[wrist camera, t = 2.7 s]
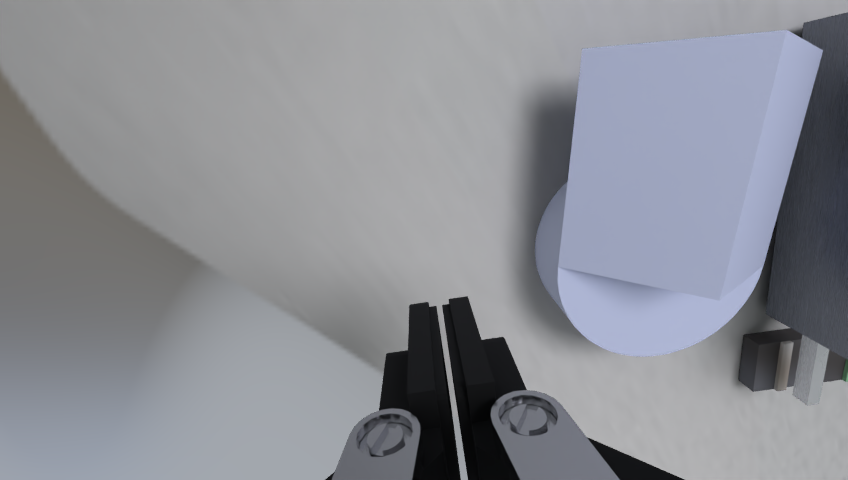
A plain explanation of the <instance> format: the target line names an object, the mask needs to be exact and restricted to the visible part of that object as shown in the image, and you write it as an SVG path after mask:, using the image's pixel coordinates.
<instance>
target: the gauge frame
mask: <svg viewBox="0 0 848 480" xmlns="http://www.w3.org/2000/svg"><path fill="white" fill-rule="evenodd" d="M801 340H802V334H801V333H799V332H797V331H795V330H793V329H792V328H791V329H784V330H777V331H770V332H762V333H755V334H748V335H744V339H743V348H742V357H741V365H740V374H739V381H740V382H742V383H743V384H744V385H745V386H747V387H748V388H749V389H750V390H752V391H753V392H754V391H761V390H769V389H775V390H776V391H782V390H786V388H787V387H791V386H794V382H795V376H796V370H797V364H798V358H799V352H800V346H801ZM834 380H844V381H845V382H848V360H847V359H845V358H844V357H842V356H840V355H838V354H837V353H835V352H833V351H831V350H829V354H828V359H827V364H826V370H825V375H824V380H823V382H827V381H834Z"/></svg>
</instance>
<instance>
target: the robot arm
mask: <svg viewBox="0 0 848 480" xmlns="http://www.w3.org/2000/svg"><path fill="white" fill-rule="evenodd" d="M442 307H443V314H444V321H445V328H446V335H447V342H448V349H449V356H450V362H451V369H452V376H453V383H454V390H455V397H456V403H457V410H458V416H459V423H460V429H461V436H462V442H463V449H464V456H465V462H466V469H467V475H468V480H684V479H682V478H679V477H677V476H675V475H673V474H670V473H668V472H666V471H663V470H661V469H659V468H656V467H654V466H652V465H650V464H647V463H645V462H643V461H640V460H638V459H636V458H633V457H631V456H629V455H627V454H624V453H622V452H620V451H617V450H615V449H613V448H610V447H608V446H606V445H604V444H601V443H599V442H597V441H594V440H592V439H590V438H587V437H586V436H585V434H584V433H583V432H582V431H581V429H580V428H579V427H578V426H577V424H576V423H575V422H574V420H573V419H572V418H571V417H570V415H569V414H568V413H567V411H566V410H565V409H564V408H563V406H562V405H561V404H560V403H559V402H558V401H557V400H556V399H554V398H552V397H551V396H549V395H547V394H545V393H541V392H537V391H530V390H526V387H525V385H524V383H523V380H522V378H521V376H520V373H519V371H518V369H517V366H516V364H515V362H514V359H513V357H512V355H511V352H510V350H509V348H508V345H507V343H506V341H505V339H504V337H499V338H492V339H485V340H481V337H480V334H479V331H478V328H477V325H476V322H475V318H474V315H473V312H472V309H471V306H470V303H469V300H468V297H460V298H453V299H449V304H447V305H442ZM326 480H461V479H460V471H459V464H458V456H457V448H456V440H455V433H454V425H453V418H452V410H451V402H450V395H449V388H448V381H447V375H446V368H445V361H444V354H443V348H442V341H441V334H440V328H439V321H438V314H437V308H436V306H433V307H429V303H428V302H425V303H418V304H411V305H410V306H409V339H408V350H407V351H400V352H393V353H387V354H386V360H385V368H384V376H383V384H382V392H381V400H380V408H379V411H377V412H374V413H372V414H370V415H368V416H367V417H365V418H363V419H362V420H361V421H360V422H359V423H358V424H357V425H356V426H355V427H354V428H353V430H352V432H351V433H350V435H349V438H348V440H347V443H346V445H345V448H344V450H343V453H342V455H341V458H340V460H339V463H338V465H337V468H336V470H335V472H334V473H333V474H332V475H330V476H329V477H328V478H327V479H326Z"/></svg>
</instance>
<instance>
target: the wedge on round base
mask: <svg viewBox="0 0 848 480" xmlns="http://www.w3.org/2000/svg"><path fill="white" fill-rule="evenodd" d="M822 53H823V50H822V49H820V48H818V47H816V46H815V45H813V44H811V43H809V42H807V41H806V40H804V39H802V38H800V37H799V36H797V35H795V34H793V33H791V32H790V31H788V30H781V31H770V32H759V33H748V34H737V35H726V36H715V37H704V38H693V39H682V40H671V41H660V42H649V43H638V44H627V45H616V46H605V47H594V48H583V49H582V57H581V66H580V75H579V84H578V93H577V102H576V111H575V120H574V129H573V138H572V147H571V156H570V165H569V174H568V181H567V182H566V183H565V184H564V185H563V186H562V187H561V188H560V189H559V190H558V192H557V193H556V194H555V195H554V197H553V198H552V199H551V201H550V203H549V204H548V206H547V208H546V209H545V211H544V214H543V216H542V218H541V220H540V224H539V227H538V230H537V235H536V241H535V259H536V266H537V270H538V273H539V276H540V279H541V281H542V283H543V285H544V287H545V288H546V290H547V291H548V293H549V294H550V295H551V297H552V298H553V299H554V301H555V302H556V303H557V305H558V306H559V307H560V308H561V310H562V311H563V312H564V314H565V315H566V316H567V317H568V319H569V320H570V321H571V323H572V324H573V325H574V326H575V327H576V329H577V330H578V331H579V332H580V333H581V334H582V335H583V336H585V337H586V338H587V339H588V340H590V341H591V342H592V343H594V344H596V345H598V346H599V347H601V348H604V349H606V350H609V351H611V352H614V353H618V354H623V355H629V356H656V355H664V354H668V353H672V352H676V351H679V350H682V349H684V348H687V347H690V346H692V345H694V344H696V343H698V342H700V341H702V340H704V339H705V338H707V337H709V336H710V335H712V334H713V333H715V332H716V331H717V330H719V329H720V328H721V327H722V326H724V325H725V324H726V323H727V322H728V321H729V320H730V319H731V318H732V317H733V316H734V315H735V314H736V313H737V312H738V311H739V310H740V308H741V307H742V306H743V305H744V304H745V302H746V301H747V299H748V298H749V296H750V295H751V293H752V291H753V290H754V288H755V286H756V284H757V282H758V280H759V277H760V274H761V271H762V269H763V266H764V262H765V258H766V255H767V251H768V248H769V244H770V240H771V237H772V233H773V230H774V226H775V222H776V219H777V215H778V212H779V208H780V204H781V201H782V197H783V194H784V190H785V186H786V183H787V179H788V176H789V172H790V168H791V165H792V161H793V158H794V154H795V150H796V147H797V143H798V140H799V136H800V132H801V129H802V125H803V121H804V118H805V114H806V111H807V107H808V103H809V100H810V96H811V93H812V89H813V85H814V82H815V78H816V75H817V71H818V67H819V64H820V60H821V57H822Z"/></svg>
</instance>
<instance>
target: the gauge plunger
mask: <svg viewBox="0 0 848 480" xmlns="http://www.w3.org/2000/svg"><path fill="white" fill-rule="evenodd" d="M802 39H804V40H806V41H807V42H809V43H811V44H813V45H815V46H816V47H818V48H820V49H822V50H823V53H822V57H821V60H820V64H819V67H818V71H817V75H816V78H815V82H814V85H813V89H812V93H811V96H810V100H809V103H808V107H807V111H806V114H805V118H804V121H803V125H802V129H801V132H800V136H799V140H798V143H797V147H796V150H795V154H794V158H793V161H792V165H791V168H790V172H789V176H788V179H787V183H786V186H785V190H784V194H783V197H782V201H781V204H780V208H779V215H778V223H777V231H776V238H775V246H774V254H773V261H772V269H771V276H770V284H769V292H768V299H767V307H766V314H767V315H768V316H770V317H772V318H774V319H776V320H777V321H779V322H781V323H783V324H785V325H786V326H788V327H790V328H792V329H793V330H795V331H797V332H799V333H801V334H802V340H801V346H800V352H799V358H798V364H797V370H796V376H795V382H794V388H793V394H792V395H793V396H795V397H796V398H797V399H799V400H800V401H802V402H803V403H804V404H806V405H814V404H819V401H820V396H821V390H822V385H823V380H824V375H825V370H826V364H827V359H828V354H829V350H831V351H833V352H835V353H837V354H838V355H840V356H842V357H844V358H845V359H847V360H848V12H847V13H843V14H839V15H835V16H831V17H827V18H822V19H818V20H814V21H810V22H806V23H804V25H803V32H802Z"/></svg>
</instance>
